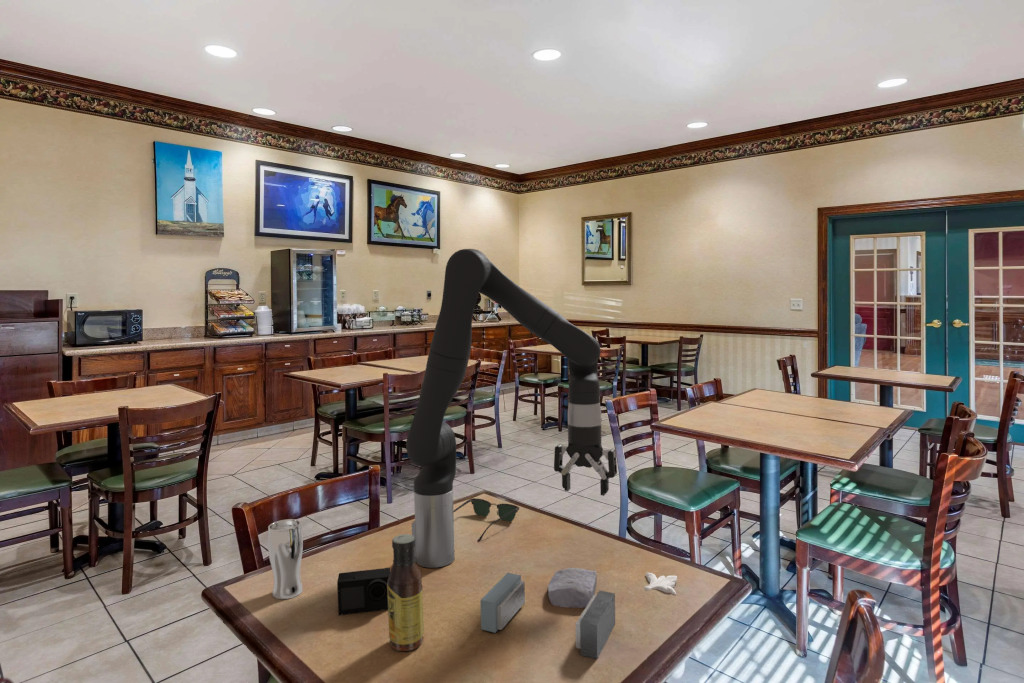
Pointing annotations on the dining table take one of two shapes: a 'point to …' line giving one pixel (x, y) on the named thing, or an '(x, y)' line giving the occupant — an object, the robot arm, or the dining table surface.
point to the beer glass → (286, 557)
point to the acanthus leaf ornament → (661, 583)
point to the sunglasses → (483, 509)
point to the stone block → (572, 587)
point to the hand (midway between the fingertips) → (585, 492)
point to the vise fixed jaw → (595, 624)
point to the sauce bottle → (405, 596)
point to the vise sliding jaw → (502, 602)
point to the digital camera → (362, 591)
